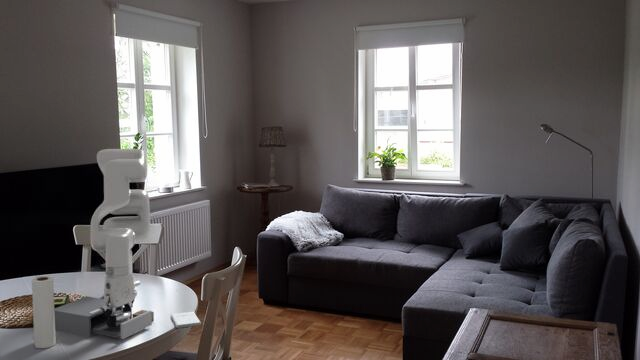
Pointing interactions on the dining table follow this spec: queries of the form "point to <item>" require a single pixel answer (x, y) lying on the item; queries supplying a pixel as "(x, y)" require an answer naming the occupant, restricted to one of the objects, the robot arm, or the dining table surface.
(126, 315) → the disc
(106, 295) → the robot arm
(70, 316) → the grey drawer box
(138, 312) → the pedestal
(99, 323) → the tray
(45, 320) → the paper towel roll
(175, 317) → the external hard drive
